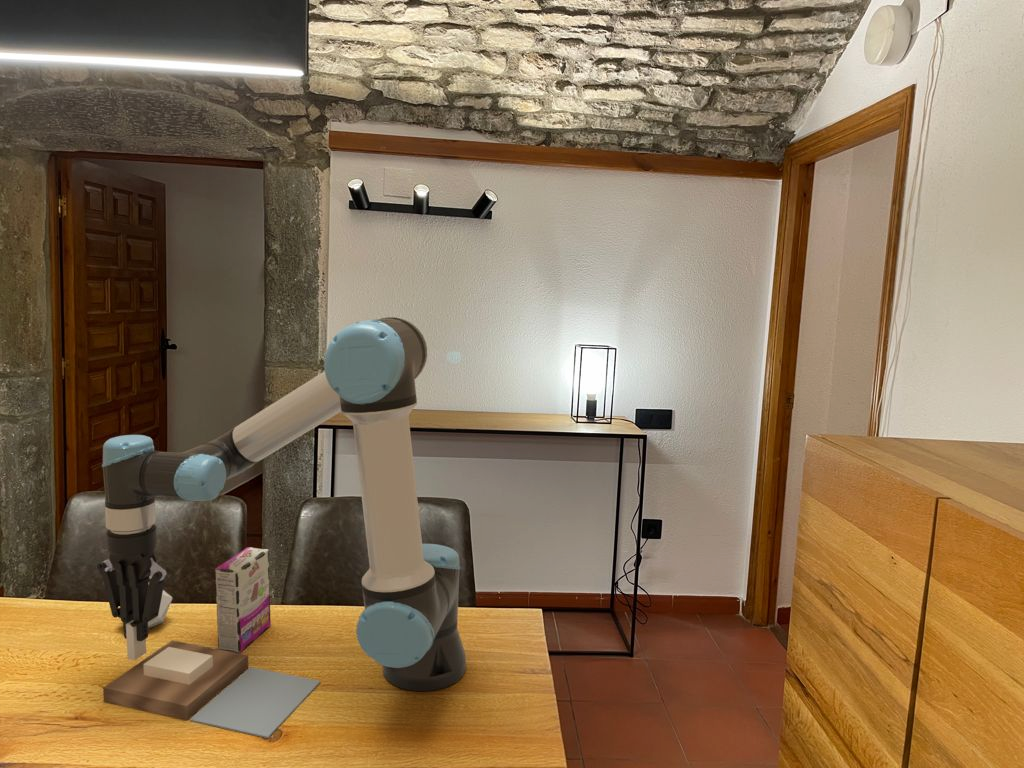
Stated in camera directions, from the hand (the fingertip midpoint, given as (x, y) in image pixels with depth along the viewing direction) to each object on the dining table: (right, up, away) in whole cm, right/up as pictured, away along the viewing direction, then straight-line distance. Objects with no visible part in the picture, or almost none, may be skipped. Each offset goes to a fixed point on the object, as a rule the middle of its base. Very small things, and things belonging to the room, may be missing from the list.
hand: (136, 655), depth 124 cm
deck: (+8, -4, -1) cm, 9 cm away
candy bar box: (+13, -2, +15) cm, 20 cm away
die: (-7, -1, +18) cm, 19 cm away
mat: (+23, -5, -5) cm, 24 cm away
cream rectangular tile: (+8, -2, -2) cm, 9 cm away
